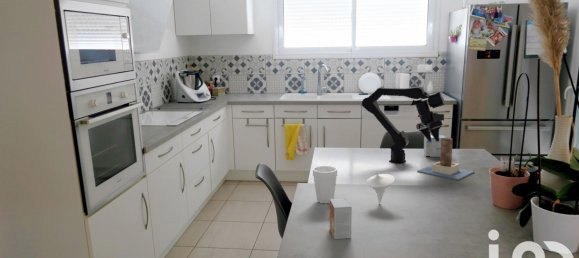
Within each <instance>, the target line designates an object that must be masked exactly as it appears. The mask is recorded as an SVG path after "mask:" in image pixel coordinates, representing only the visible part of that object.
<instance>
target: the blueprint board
mask: <svg viewBox="0 0 579 258" xmlns="http://www.w3.org/2000/svg"><path fill="white" fill-rule="evenodd" d="M417 173H422V174H426V175H430V176H434V177H440V178H445V179H449V180H456V181H461V180H462V179H464V178H466V177H469V176H470V175H472V174H474V173H475V171H473V170H469V169H464V168H460V163H455V162H452V164H451V167H446V166H441V165H440V161H437V162H435V163H433V164H430V165H427V166H426V167H423V168H421V169H418V170H417Z"/></svg>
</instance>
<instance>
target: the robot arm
mask: <svg viewBox="0 0 579 258" xmlns="http://www.w3.org/2000/svg"><path fill="white" fill-rule="evenodd" d="M382 96H389V97H390V96H391V97H405V98H409V99H412V102H411V104H410V106H415V107H416V111H417V118H419V120H420V122H419V123H416V125H415V127H416V130H418V132H420V133H421V134H422V136H423V137H424V136H425V137H426V138H427V140H428V141H431V135H432V136H433V137H434V139H435V140H436V141H437V142H438V141H439V135H440V129H441V128H442V126H443V125H444V124H443V122H442V121H445V113H438V112H434V111H431V109H430V108H432V109H437V108H439V107H442V106H445V105H446V104H445V99H444V97H443V95H442V94H441V91H438V92H436V93H433V94H430V93H428V92H426V91H425V89H424V88H423V87H422V86H412V87H408V88H407V87H406V88H399V87H382V86H380V87H377V89H376V90H374V91H373V92H372V93H371V94H370V95H368V96H367V97H364V98H363V99H362V101H361V106H362V107H363V109H365V110H366V111H367V112H369V113H370V114H372V115H373V116H374V117H375V119H376V120H377V121H378V123H380V125H381V126H382V127H383V128H384V129H385V130H386V132H387V133H388V134H389V136H390V137H391V140H392V142H393V144H392V145H391V146H390V147H389V148H390V160H388V162H389V163H395V164H403V163H406V162H407V160H406V151H405V150H404V149H405V148H406V147H407V145H408V144H409V141H410V139H409V136H408V135H407V134H406V133H405V131H404V130H401V131H400V130H399V129H397V128H396V127H395V125H394V124H393V123H392V122H391V121H390V119H389V118H388V117H387V115H386V114H385V113H384V112H383V111H382V110H381V108H380V105H379V103H378V102H377V101H379V99H380V98H381V97H382Z"/></svg>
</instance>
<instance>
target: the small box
mask: <svg viewBox="0 0 579 258" xmlns="http://www.w3.org/2000/svg"><path fill="white" fill-rule="evenodd" d="M352 219H353V218H352V205H351V204H350V203H349V201H348V200H347V198H346V197H345V198H342V197H341V198H334V199H330V204H329V230H330V232H331V234H332V237H333V240H343V239H346V238H347V239H352Z"/></svg>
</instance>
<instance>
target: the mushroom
mask: <svg viewBox="0 0 579 258" xmlns="http://www.w3.org/2000/svg"><path fill="white" fill-rule="evenodd" d="M395 180H396V178H395V176H394V175H392V174H390V173H389V174H387V173H377V174H375V175H371V176H370V177H368V179H366V180H365V182H366V185H367V186H368V187H370V188H372V189H373V190H374V191H375V193H376V196H377V200H378V204H379V203H381V204H382V199H383V197H384V193H385V192H386V190H387V188H388V187H389V186H391V185H392V184H394V182H395Z"/></svg>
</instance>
